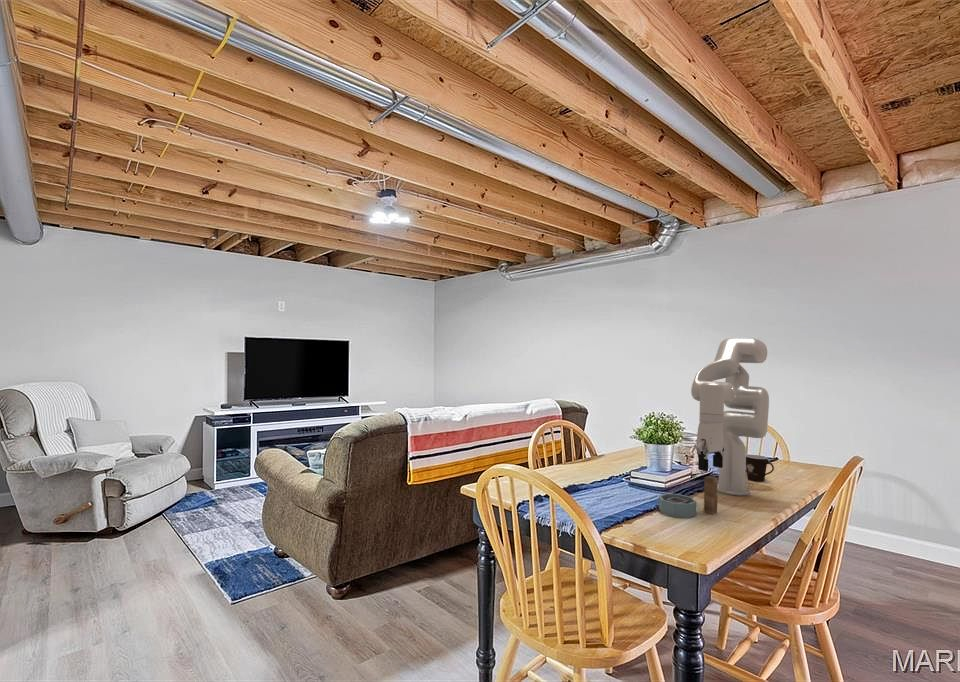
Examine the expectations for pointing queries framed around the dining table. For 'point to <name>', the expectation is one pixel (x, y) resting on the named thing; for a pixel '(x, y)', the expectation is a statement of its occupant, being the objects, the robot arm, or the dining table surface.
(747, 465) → the coffee mug
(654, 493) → the dining table surface
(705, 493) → the wood grain block
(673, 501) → the octagonal socket dish
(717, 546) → the dining table surface
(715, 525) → the dining table surface
